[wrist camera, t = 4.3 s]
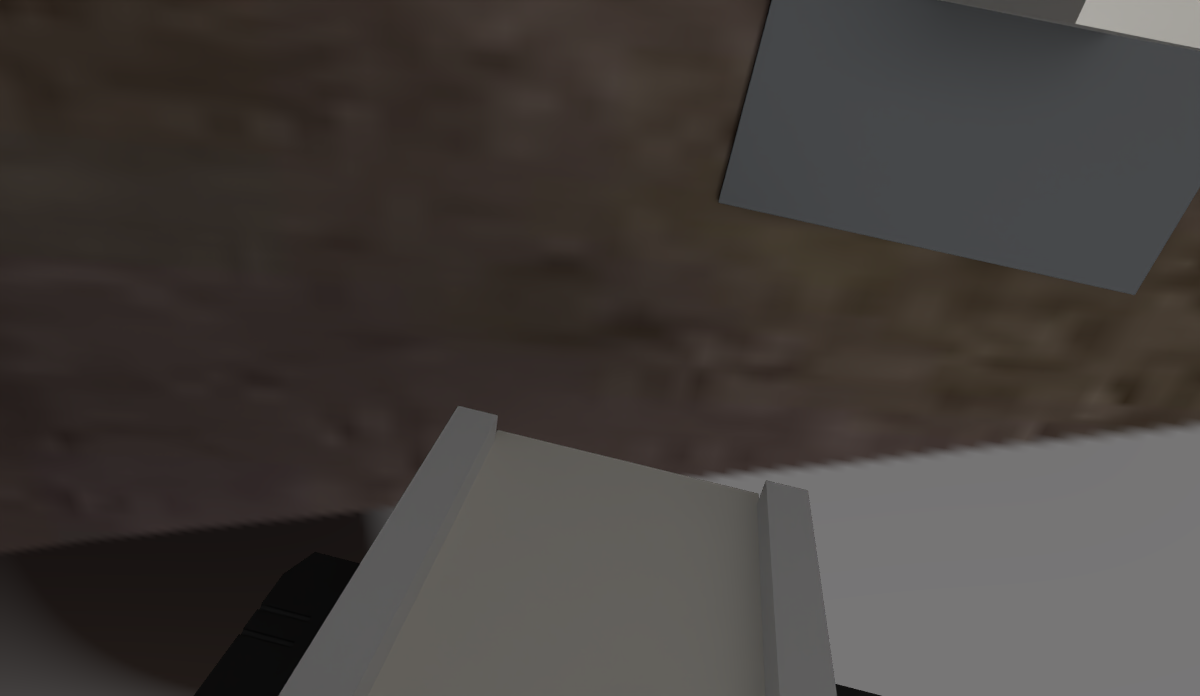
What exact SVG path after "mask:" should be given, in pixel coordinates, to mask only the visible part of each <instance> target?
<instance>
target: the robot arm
mask: <svg viewBox="0 0 1200 696" xmlns="http://www.w3.org/2000/svg"><path fill="white" fill-rule="evenodd" d="M497 419H498V415H494V414H490V413H486V412H481V411H477V410H473V409H469V408H465V407H461V406H458V407H457V409H456V410H455V412H454V413H453V415H452V417H451V418H450V420H449V421H448V423H447V425H446V426H445V428H444V430H443V431H442V433H441V434H440V436H439V438H438V439H437V441H436V442H435V444H434V446H433V447H432V449H431V451H430V452H429V454H428V455H427V457H426V459H425V460H424V462H423V463H422V465H421V467H420V468H419V470H418V471H417V473H416V475H415V476H414V478H413V480H412V481H411V483H410V484H409V486H408V488H407V489H406V491H405V492H404V494H403V496H402V497H401V499H400V501H399V502H398V504H397V505H396V507H395V509H394V510H393V512H392V513H391V515H390V517H389V518H388V520H387V521H386V523H385V525H384V526H383V528H382V530H381V531H380V533H379V535H378V536H377V538H376V539H375V541H374V542H373V544H372V546H371V547H370V549H369V550H368V552H367V554H366V555H365V557H364V559H363V560H362V562H361V563H355V562H352V561H348V560H344V559H340V558H336V557H332V556H329V555H325V554H320V553H317V552H314V553H313V554H311V555H310V556H309V557H307V558H306V559H304V560H303V561H301V562H300V563H299V564H297V565H296V566H294V567H293V568H291V569H290V570H288V571H287V572H286V573H284V574H283V575H282V577H281V578H280V579H279V581H278V582H277V583H276V585H275V586H274V588H273V589H272V590H271V592H270V593H269V594H268V596H267V597H266V599H265V600H264V601H263V602H262V605H261V608H260V609H259V610H257V611H256V612H255V613H254V615H253V616H252V617H251V619H250V620H249V621H248V623H247V624H246V626H245V627H244V630H243V632H242V634H241V635H240V634H239V635H238V636H237V638H236V639H235V640H234V642H233V643H232V644H231V646H230V647H229V649H228V650H227V651H226V653H225V654H224V655H223V657H222V658H221V659H220V661H219V662H218V664H217V665H216V666H215V668H214V669H213V670H212V672H211V673H210V674H209V676H208V677H207V679H206V680H205V681H204V683H203V684H202V685H201V687H200V688H199V689H198V691H197V692H196V693H195V695H194V696H368V694H369V692H370V690H371V688H372V686H373V684H374V682H375V680H376V678H377V676H378V674H379V672H380V670H381V668H382V666H383V664H384V662H385V660H386V658H387V656H388V654H389V652H390V650H391V648H392V646H393V644H394V642H395V640H396V638H397V636H398V634H399V632H400V630H401V628H402V626H403V624H404V622H405V620H406V618H407V616H408V614H409V612H410V610H411V608H412V606H413V604H414V602H415V600H416V598H417V596H418V594H419V592H420V590H421V588H422V586H423V584H424V582H425V580H426V578H427V576H428V574H429V572H430V570H431V568H432V566H433V564H434V562H435V560H436V558H437V556H438V553H439V551H440V549H441V547H442V545H443V543H444V541H445V539H446V537H447V535H448V533H449V531H450V529H451V527H452V525H453V523H454V521H455V519H456V517H457V515H458V513H459V511H460V509H461V507H462V505H463V503H464V501H465V499H466V497H467V495H468V493H469V491H470V489H471V487H472V485H473V483H474V481H475V479H476V477H477V475H478V473H479V471H480V469H481V467H482V465H483V463H484V461H485V459H486V457H487V455H488V453H489V451H490V449H491V447H492V445H493V443H494V441H495V435H496V427H497ZM757 514H758V538H759V561H760V585H761V608H762V631H763V655H764V678H765V696H880V695H877V694H873V693H868V692H865V691H861V690H857V689H853V688H849V687H846V686H842V685H837V684H835V679H834V671H833V665H832V657H831V650H830V643H829V636H828V629H827V622H826V615H825V609H824V601H823V594H822V587H821V579H820V572H819V565H818V558H817V551H816V544H815V537H814V530H813V523H812V516H811V509H810V502H809V495H808V491H807V490H804V489H800V488H795V487H791V486H787V485H783V484H779V483H775V482H771V481H767V480H766V482H765V484H764V487H763V490H762V493H761V495H760V498H759V501H758V503H757Z"/></svg>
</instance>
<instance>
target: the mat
mask: <svg viewBox="0 0 1200 696" xmlns="http://www.w3.org/2000/svg"><path fill="white" fill-rule="evenodd" d="M1199 187H1200V51H1197V50H1192V49H1186V48H1181V47H1176V46H1170V45H1165V44H1160V43H1154V42H1149V41H1144V40H1138V39H1133V38H1127V37H1122V36H1117V35H1111V34H1106V33H1101V32H1096V31H1091V30H1086V29H1081V28H1076V27H1071V26H1066V25H1061V24H1056V23H1051V22H1046V21H1041V20H1036V19H1031V18H1026V17H1021V16H1016V15H1011V14H1006V13H1001V12H996V11H991V10H986V9H981V8H976V7H971V6H966V5H961V4H956V3H951V2H946V1H941V0H771V3H770V7H769V11H768V15H767V18H766V22H765V26H764V30H763V34H762V37H761V41H760V45H759V49H758V53H757V56H756V60H755V64H754V68H753V72H752V75H751V79H750V83H749V87H748V91H747V94H746V98H745V102H744V106H743V109H742V113H741V117H740V121H739V125H738V128H737V132H736V136H735V140H734V144H733V147H732V151H731V155H730V159H729V163H728V166H727V170H726V174H725V178H724V181H723V185H722V189H721V193H720V197H719V203H723V204H727V205H732V206H736V207H741V208H745V209H750V210H754V211H759V212H763V213H768V214H772V215H777V216H781V217H786V218H790V219H795V220H799V221H804V222H808V223H813V224H817V225H822V226H826V227H831V228H835V229H840V230H844V231H849V232H853V233H858V234H862V235H867V236H871V237H876V238H880V239H885V240H889V241H894V242H898V243H903V244H907V245H912V246H916V247H921V248H925V249H930V250H934V251H939V252H943V253H948V254H952V255H957V256H961V257H966V258H970V259H975V260H979V261H984V262H988V263H993V264H997V265H1002V266H1006V267H1011V268H1015V269H1020V270H1024V271H1029V272H1033V273H1038V274H1042V275H1047V276H1051V277H1056V278H1061V279H1065V280H1070V281H1074V282H1079V283H1083V284H1088V285H1092V286H1097V287H1101V288H1106V289H1110V290H1115V291H1119V292H1124V293H1128V294H1133V295H1135V294H1136V292H1137V290H1138V289H1139V287H1140V285H1141V284H1142V282H1143V280H1144V279H1145V277H1146V275H1147V274H1148V272H1149V270H1150V269H1151V267H1152V265H1153V264H1154V262H1155V260H1156V259H1157V257H1158V255H1159V254H1160V252H1161V250H1162V249H1163V247H1164V245H1165V244H1166V242H1167V240H1168V239H1169V237H1170V235H1171V234H1172V232H1173V230H1174V229H1175V227H1176V225H1177V224H1178V222H1179V220H1180V219H1181V217H1182V215H1183V214H1184V212H1185V211H1186V209H1187V207H1188V206H1189V204H1190V202H1191V201H1192V199H1193V197H1194V196H1195V194H1196V192H1197V191H1198V189H1199Z"/></svg>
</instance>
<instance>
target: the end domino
mask: <svg viewBox="0 0 1200 696" xmlns="http://www.w3.org/2000/svg"><path fill="white" fill-rule="evenodd" d="M758 501H759V495H758V494H757V493H754V492H749V491H745V490H741V489H737V488H733V487H729V486H725V485H721V484H717V483H713V482H709V481H704V480H700V479H696V478H692V477H688V476H684V475H680V474H676V473H672V472H668V471H664V470H660V469H655V468H651V467H647V466H643V465H639V464H635V463H631V462H627V461H623V460H619V459H615V458H610V457H606V456H602V455H598V454H594V453H590V452H586V451H582V450H578V449H574V448H570V447H565V446H561V445H557V444H553V443H549V442H545V441H541V440H537V439H533V438H529V437H525V436H521V435H516V434H512V433H508V432H504V431H500V430H497V432H496V435H495V441H494V443H493V445H492V447H491V449H490V451H489V453H488V455H487V457H486V459H485V461H484V463H483V465H482V467H481V469H480V471H479V473H478V475H477V477H476V479H475V481H474V483H473V485H472V487H471V489H470V491H469V493H468V495H467V497H466V499H465V501H464V503H463V505H462V507H461V509H460V511H459V513H458V515H457V517H456V519H455V521H454V523H453V525H452V527H451V529H450V531H449V533H448V535H447V537H446V539H445V541H444V543H443V545H442V547H441V549H440V551H439V553H438V556H437V558H436V560H435V562H434V564H433V566H432V568H431V570H430V572H429V574H428V576H427V578H426V580H425V582H424V584H423V586H422V588H421V590H420V592H419V594H418V596H417V598H416V600H415V602H414V604H413V606H412V608H411V610H410V612H409V614H408V616H407V618H406V620H405V622H404V624H403V626H402V628H401V630H400V632H399V634H398V636H397V638H396V640H395V642H394V644H393V646H392V648H391V650H390V652H389V654H388V656H387V658H386V660H385V662H384V664H383V666H382V668H381V670H380V672H379V674H378V676H377V678H376V680H375V682H374V684H373V686H372V688H371V690H370V692H369V694H368V696H765V678H764V655H763V631H762V608H761V585H760V561H759V538H758V514H757V503H758Z"/></svg>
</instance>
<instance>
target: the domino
mask: <svg viewBox="0 0 1200 696" xmlns="http://www.w3.org/2000/svg"><path fill="white" fill-rule="evenodd" d="M941 1H946V2H951V3H956V4H961V5H966V6H971V7H976V8H981V9H986V10H991V11H996V12H1001V13H1006V14H1011V15H1016V16H1021V17H1026V18H1031V19H1036V20H1041V21H1046V22H1051V23H1056V24H1061V25H1066V26H1071V27H1076V28H1081V29H1086V30H1091V31H1096V32H1101V33H1106V34H1111V35H1117V36H1122V37H1127V38H1133V39H1138V40H1144V41H1149V42H1154V43H1160V44H1165V45H1170V46H1176V47H1181V48H1186V49H1192V50H1197V51H1200V0H941Z"/></svg>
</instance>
